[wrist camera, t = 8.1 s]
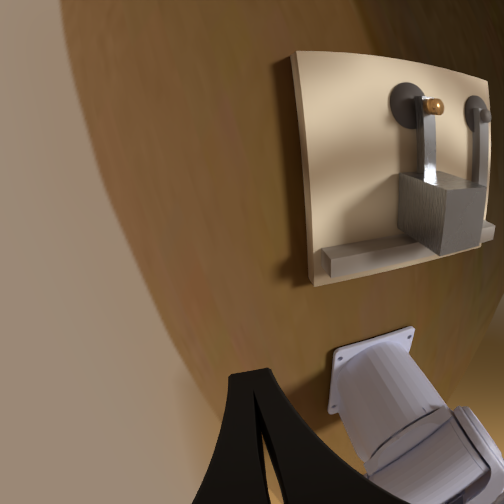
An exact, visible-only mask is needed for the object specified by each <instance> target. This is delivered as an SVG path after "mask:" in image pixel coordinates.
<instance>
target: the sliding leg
mask: <svg viewBox="0 0 504 504" xmlns="http://www.w3.org/2000/svg"><path fill="white" fill-rule="evenodd" d="M414 103H415V117H416V139H417V172H403V173H399V201H398V222H397V228H398V229H399V230H401V231H402V232H404V233H405V234H407V235H409V236H410V237H412V238H413V239H415V240H416V241H418V242H419V243H421V244H422V245H424V246H425V247H427V248H428V249H429V250H431V251H432V252H434V253H435V254H437V255H438V256H444V255H447V254H451V253H455V252H459V251H463V250H466V249H470V248H474V247H477V246H479V243H480V238H481V232H482V225H483V218H484V211H485V202H486V192H487V187H486V186H483V185H480V184H478V183H475V182H472V181H469V180H466V179H463V178H461V177H458V176H455V175H452V174H448V173H445V172H442V171H436V123H435V115H442V114H443V113H444V104H443V102H442V101H441V100H440V99H438V98H433V97H426V96H414Z"/></svg>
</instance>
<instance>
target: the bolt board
mask: <svg viewBox="0 0 504 504" xmlns="http://www.w3.org/2000/svg"><path fill="white" fill-rule="evenodd" d="M290 58H291V66H292V73H293V81H294V89H295V98H296V106H297V116H298V125H299V135H300V146H301V157H302V170H303V183H304V197H305V213H306V231H307V253H308V278H309V280H310V281H311V283H312V284H313V286H314V287H316V286H321V285H326V284H330V283H335V282H340V281H345V280H349V279H354V278H358V277H363V276H367V275H372V274H376V273H380V272H385V271H389V270H393V269H397V268H402V267H406V266H410V265H414V264H418V263H422V262H426V261H430V260H434V259H438V258H441V257H445V256H449V255H453V254H457V253H460V252H464V251H468V250H471V249H475V248H478V247H481V243H483V242H486V241H490V240H493V236H494V230H495V225H493V224H491V223H489V222H487V221H485V217H486V210H487V201H488V191H489V178H490V158H491V124H490V121H491V113H490V104H489V92H488V82H487V81H485V80H482V79H479V78H476V77H473V76H469V75H466V74H463V73H459V72H455V71H452V70H448V69H444V68H440V67H436V66H431V65H427V64H422V63H417V62H412V61H406V60H401V59H394V58H388V57H381V56H373V55H364V54H354V53H341V52H322V51H296V52H294V53H293V54H292V55H290ZM414 96H426V97H433V98H438V99H440V100H441V101H442V102H443V104H444V113H443V114H442V115H435V123H436V171H442V172H445V173H448V174H452V175H455V176H458V177H461V178H463V179H466V180H469V181H472V182H475V183H478V184H480V185H483V186H486V187H487V192H486V202H485V211H484V218H483V225H482V232H481V238H480V243H479V246H477V247H474V248H470V249H466V250H463V251H459V252H455V253H451V254H447V255H444V256H438V255H437V254H435V253H434V252H432V251H431V250H429V249H428V248H427V247H425V246H424V245H422V244H421V243H419V242H418V241H416V240H415V239H413V238H412V237H410V236H409V235H407V234H405V233H404V232H402V231H401V230H399V229H398V228H397V222H398V201H399V173H403V172H417V139H416V117H415V103H414Z"/></svg>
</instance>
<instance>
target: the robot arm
mask: <svg viewBox="0 0 504 504" xmlns="http://www.w3.org/2000/svg"><path fill="white" fill-rule="evenodd" d="M414 331H415V329H414V328H413V327H412V326H409V327H406V328H403V329H400V330H397V331H394V332H391V333H388V334H385V335H382V336H378V337H375V338H372V339H369V340H365V341H362V342H358V343H355V344H351V345H348V346H344V347H340V348H337V349H336V350H335V351H334V353H333V364H332V375H331V385H330V395H329V403H328V413H329V414H335V413H339V415H340V417H341V420H342V422H343V424H344V427H345V429H346V431H347V433H348V436H349V438H350V440H351V443H352V445H353V447H354V450H355V452H356V454H357V455H358V457H359V458H360V459H361V460H362V461H363V462H365V463H364V467H365V469H366V471H367V473H366V474H364V475H362V474H360V473H359V472H357V471H356V470H355V469H353V468H352V467H351V466H350V465H348V464H347V463H346V462H345V461H344V460H342V459H341V458H340V457H339V456H338V455H337V454H335V453H334V452H333V451H332V450H331V449H330V448H329V447H328V446H327V445H326V444H325V443H324V442H323V441H322V440H321V439H320V438H319V437H318V436H317V435H316V434H315V433H314V432H313V430H312V429H311V428H310V427H309V426H308V425H307V424H306V422H305V421H304V420H303V419H302V418H301V416H300V415H299V414H298V412H297V411H296V410H295V408H294V407H293V406H292V405H291V403H290V402H289V400H288V399H287V397H286V396H285V394H284V393H283V391H282V390H281V388H280V386H279V385H278V383H277V381H276V379H275V377H274V375H273V373H272V370H271V369H269V368H264V369H258V370H253V371H247V372H242V373H236V374H231V375H230V376H229V377H228V394H227V401H226V407H225V412H224V416H223V421H222V425H221V429H220V434H219V437H218V440H217V443H216V447H215V450H214V453H213V456H212V459H211V461H210V464H209V467H208V470H207V472H206V474H205V477H204V479H203V481H202V484H201V486H200V488H199V490H198V492H197V494H196V496H195V498H194V500H193V502H192V504H271V502H270V497H269V493H268V487H267V479H266V470H265V461H264V452H263V442H262V435H263V438H264V441H265V444H266V447H267V450H268V453H269V456H270V459H271V462H272V465H273V468H274V471H275V474H276V477H277V479H278V483H279V486H280V489H281V493H282V497H283V501H284V504H504V492H503V490H504V459H503V457H502V456H501V452H500V450H499V449H498V447H497V445H496V444H495V442H494V441H493V439H492V438H491V437H490V435H489V434H488V432H487V431H486V430H485V428H484V427H483V425H482V424H481V423H480V421H479V420H478V419H477V417H476V416H475V415H474V413H473V412H472V411H471V409H470V408H469V407H467V406H464V407H461V406H458V407H456V408H455V409H454V412H453V411H452V410H451V409H450V408H448V406H447V405H446V404H445V402H444V401H443V399H442V398H441V397H440V395H439V394H438V392H437V391H436V390H435V388H434V387H433V386H432V384H431V383H430V381H429V380H428V379H427V377H426V376H425V375H424V373H423V372H422V371H421V369H420V368H419V367H418V365H417V364H416V363H415V361H414V360H413V359H412V358H411V356H410V355H409V354H408V353H409V350H410V346H411V343H412V339H413V335H414ZM261 432H262V433H261Z"/></svg>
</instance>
